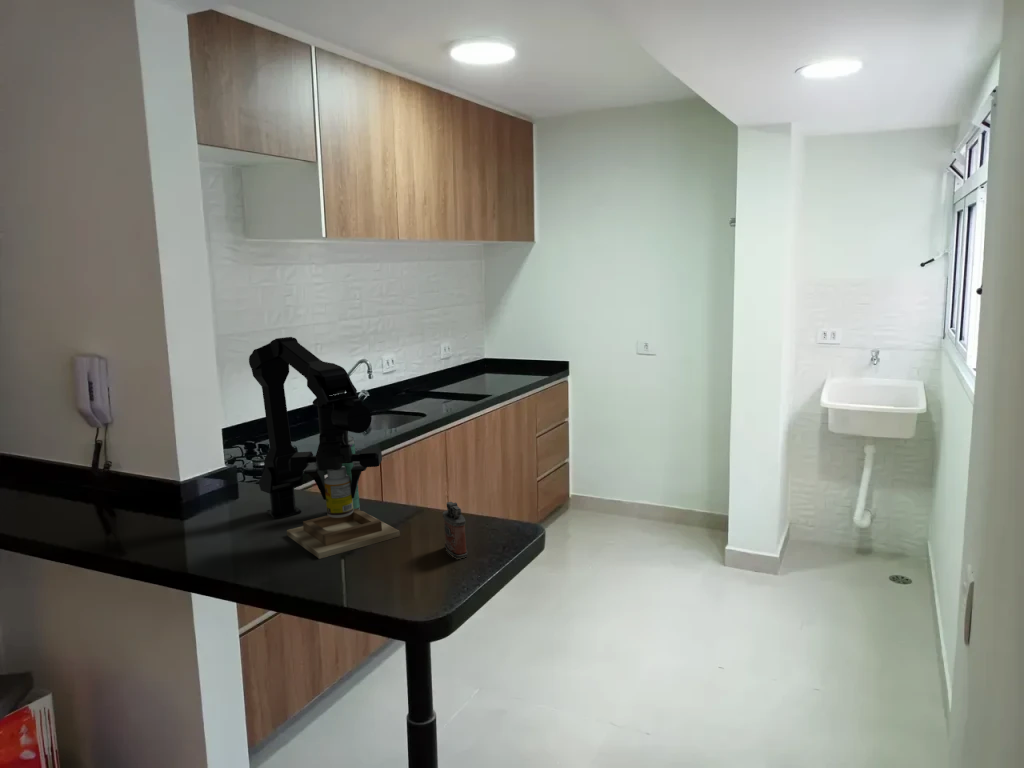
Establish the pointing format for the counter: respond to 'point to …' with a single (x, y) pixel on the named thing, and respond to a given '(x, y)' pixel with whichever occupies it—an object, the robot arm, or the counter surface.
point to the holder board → (341, 533)
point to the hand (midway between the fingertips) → (339, 498)
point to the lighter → (454, 531)
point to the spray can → (348, 470)
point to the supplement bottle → (338, 493)
